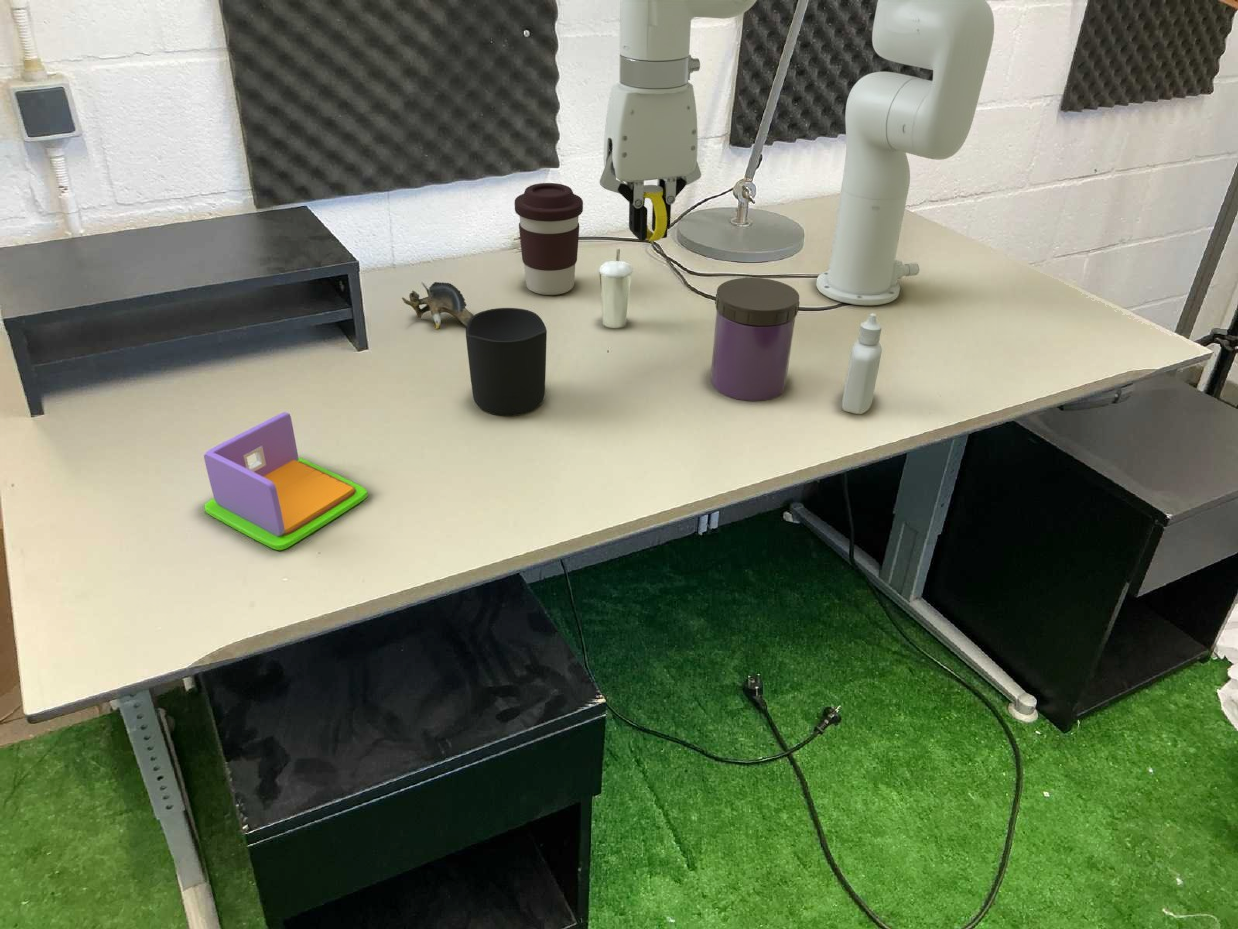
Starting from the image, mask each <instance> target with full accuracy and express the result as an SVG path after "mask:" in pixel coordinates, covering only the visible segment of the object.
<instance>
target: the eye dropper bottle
mask: <svg viewBox="0 0 1238 929" xmlns="http://www.w3.org/2000/svg"><path fill="white" fill-rule="evenodd" d="M882 330H883V329H882V324H880V323H878V322H877V314H876V313H870V314H869V316H868V318H867V320H866V321H863V322H861V323H860V327H859V331H858V332H859V333H858V338H857V340H856V342H855V343H854V344H853V345H852V347H851V350H850V353H849V354H850V355H849V360H848V366H847V372H846V377H845V383H844V389H843V394H842V400H841V408H842V410H843V411H844V412H847V413H851V414H856V415H863V414H864V413H866V412H867V411H868V410H869V409H870V408H871V406H872V403H873V400H874V394H875V389H876V383H877V378H878V374H879V373H878V372H879V368H880V363H881V358H882V353H883V349H882V348H883V347H882V344H881V342H880V338H881V333H882Z"/></svg>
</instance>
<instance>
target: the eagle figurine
mask: <svg viewBox="0 0 1238 929" xmlns="http://www.w3.org/2000/svg"><path fill="white" fill-rule="evenodd" d="M420 283H421V285H422V286H423V288H424V289H425V292H426V294H427V296H426V297H422V298H420V294H419V293H417V291H415V290H411V292H410V293H409V295H408V297H409V300H408V299H406V298H405V297H401V299H402V301H403V303H404V304H405V305H408V306H409V307H412V309H413V311H415V313H416V314H415V315H416V318H417V319H421V318H422V315H424V313H428V312H430V314H431V316H432V318H433V321H434V323H435V330H438V329H439V327H440V325H441V323H442V318H441V314H442V313H443V314H444V313H445V314H446V313H447V314H450V315H452V316H453V317H455V318H456V319H458V320H459V321H460V322H461V323H462V324H463V325H464V326H465V327H467V324H468V322H469V320H470V319H471V318H472V316H474V315H475V314H473V313H472V312H470V310H468V309H467V308H466V307H467V302H466V299H465V297H464V294H462V293H461V291H460V290H459V289H458V287H456V285H454V284H453V283H451V282H439V281H438V282H437V281H435V282H433V283H432V284H431V285H430V286H429V287H428V285H427V284H425V282H423V281H422V280H421V281H420ZM422 305H425V306H423V307H422V308H421V307H420V306H422Z"/></svg>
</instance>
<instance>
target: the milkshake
mask: <svg viewBox="0 0 1238 929" xmlns="http://www.w3.org/2000/svg"><path fill="white" fill-rule="evenodd" d="M620 253H621V249H620V248H619V247H617V248H616V252H615V260H608V261H606V262H604V263H602V264H601V266H599V269H598V271H599V272H598V274H599V283H600V295H601V296H600V297H601V310H602V312H601V313H602V324H603V325H604V326H605V327H606V328H610V329H620V328H623V327H625V326H626V323H627V315H628V307H629V297H630V289H631V284H632V278H633V277H632V276H633V267H632V265H631V264H630V263H628V262H626V261H624V260H621V261H620Z"/></svg>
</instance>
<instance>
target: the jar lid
mask: <svg viewBox="0 0 1238 929" xmlns="http://www.w3.org/2000/svg"><path fill="white" fill-rule="evenodd" d="M714 305H715V309H716V310H717V311H718V312H719V313H720V314H721V315H722V316H724V317H725V318H728V319H730V320H732V321H735V322H738V323H743V324H748V325H757V326H771V325H778V324H783V323H786V322H789V321H791V320H792V319H794V318H795V319H796V318H797V316H798V313H799V310H800V294H799V292H798V291H797V289H795V288H794V287H792V286H790V285H789V284H786V283H785V282H783V281H782V282H781V281H779V280H774V279H769V278H765V277H764V278H763V277H740V278H733V279H730V280H727V281H724V282H723V283H720V284H719V285H718V286H717V289H716V294H715V300H714ZM716 310H715V311H716Z"/></svg>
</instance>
